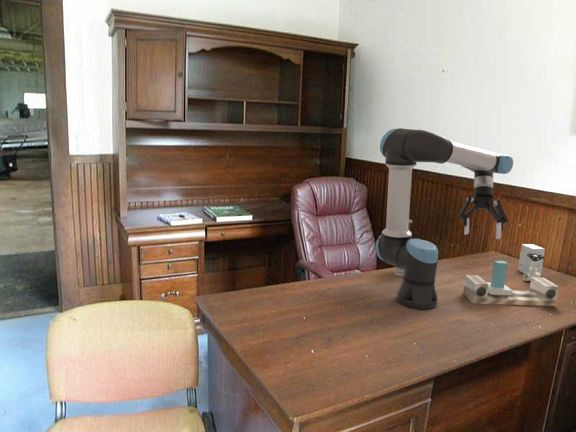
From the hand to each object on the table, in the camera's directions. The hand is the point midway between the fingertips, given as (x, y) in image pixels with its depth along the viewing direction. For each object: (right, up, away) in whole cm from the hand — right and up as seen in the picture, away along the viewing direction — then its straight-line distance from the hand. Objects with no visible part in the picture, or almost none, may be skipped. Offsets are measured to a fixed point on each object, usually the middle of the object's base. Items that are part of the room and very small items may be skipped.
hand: (482, 236), depth 189 cm
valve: (+28, -21, +14) cm, 37 cm away
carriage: (+1, -22, -10) cm, 24 cm away
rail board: (+6, -25, -9) cm, 27 cm away
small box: (+33, -19, +25) cm, 45 cm away
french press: (-27, -18, +17) cm, 37 cm away
